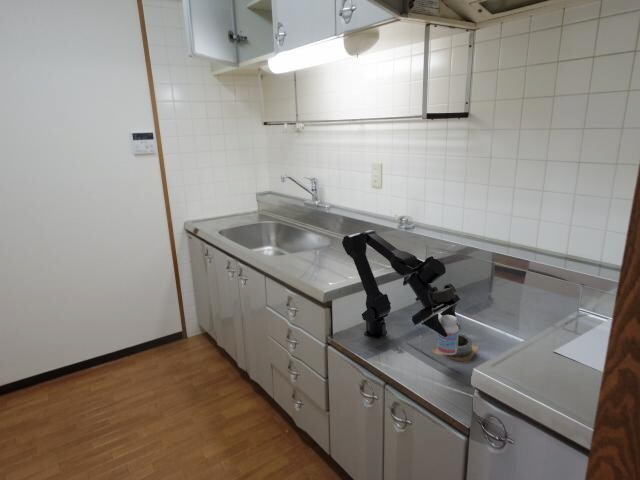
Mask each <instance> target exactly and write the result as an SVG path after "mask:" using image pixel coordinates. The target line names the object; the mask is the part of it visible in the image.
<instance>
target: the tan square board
mask: <svg viewBox="0 0 640 480" xmlns="http://www.w3.org/2000/svg"><path fill="white" fill-rule="evenodd" d="M458 346H462V345H458ZM479 349H480V346H477V345H473V344H472V353H471V354H470V355H469V356H467V357H463V358H456V357H451V356H448V355H445V354H442V353H440V352H439V351H438V348H437V346H436V347H435V348H434V349H433V350H432V351H431V353H432V354H435V355H438V356H442V357H444V358H445V357H446V358H449V359H452V360H455V361H458V362H461V363H465V364H468V363H469V362H470V361H471V359H473V356H475V354H476V352H478V350H479Z"/></svg>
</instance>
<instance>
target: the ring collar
mask: <svg viewBox="0 0 640 480" xmlns="http://www.w3.org/2000/svg"><path fill="white" fill-rule="evenodd" d="M458 345H462V346H458V348H457V353H456V354H454V355H448V356H451V357H456V358H463V357H467V356H469V355H470V354H471V353H472V345H473V341H472V339H471V338H470V337H469V336H468V335H465V334H462V333H459V334H458Z"/></svg>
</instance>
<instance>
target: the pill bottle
mask: <svg viewBox="0 0 640 480" xmlns="http://www.w3.org/2000/svg"><path fill="white" fill-rule="evenodd" d="M457 322H458V318H457V316H456V317H455V316H452V315H443V316H442V317H441V325H442V326H443V328H444V330H445V331H446V333H447V337H443V336H442V335H440V334H439V333H437V346H436V347H437V348H438V351H439V352H440V353H442V354H445V355H454V354H456V353H457V348H458V334H460V332H459V330H460V326H459V327H458V325H457Z"/></svg>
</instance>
